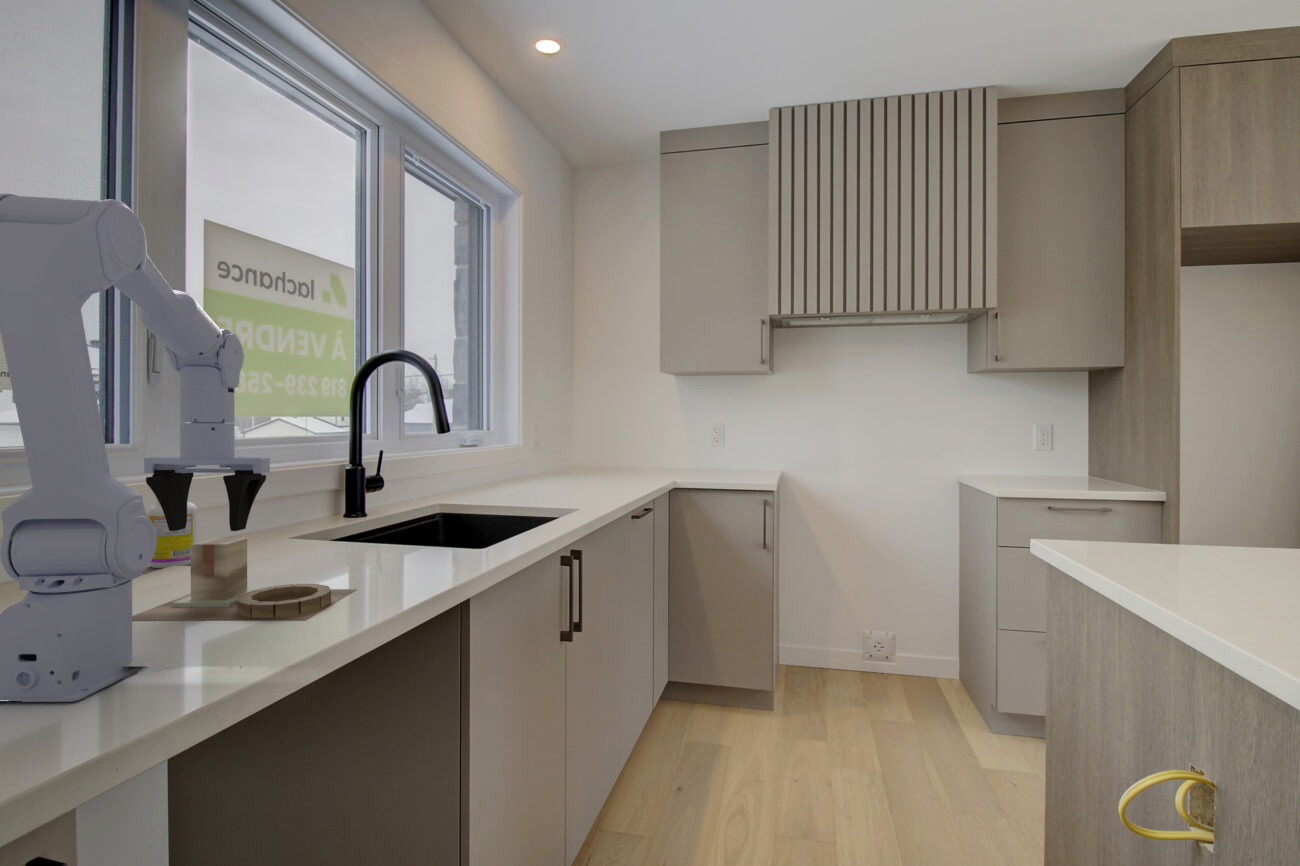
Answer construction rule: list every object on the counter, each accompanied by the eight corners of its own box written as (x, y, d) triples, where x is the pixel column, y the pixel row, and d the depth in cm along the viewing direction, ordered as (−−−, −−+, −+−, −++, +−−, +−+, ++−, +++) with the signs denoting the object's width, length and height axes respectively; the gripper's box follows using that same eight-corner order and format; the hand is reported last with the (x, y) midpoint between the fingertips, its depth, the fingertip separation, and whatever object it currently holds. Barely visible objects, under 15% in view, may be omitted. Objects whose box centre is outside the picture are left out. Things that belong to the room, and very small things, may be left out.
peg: (247, 590, 85) (247, 538, 85) (226, 600, 81) (225, 544, 80) (213, 590, 85) (213, 538, 85) (190, 600, 80) (190, 544, 80)
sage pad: (229, 606, 79) (229, 602, 79) (172, 606, 79) (172, 602, 79) (262, 592, 86) (262, 588, 86) (209, 592, 86) (209, 588, 86)
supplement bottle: (162, 561, 111) (162, 487, 111) (205, 560, 112) (204, 486, 112) (139, 570, 104) (138, 491, 104) (184, 568, 105) (184, 490, 105)
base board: (305, 630, 74) (305, 607, 74) (120, 631, 74) (120, 607, 74) (357, 597, 88) (357, 578, 88) (201, 598, 88) (201, 578, 88)
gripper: (282, 423, 86) (282, 525, 86) (172, 423, 85) (172, 524, 85) (251, 423, 79) (251, 533, 79) (130, 422, 78) (130, 533, 78)
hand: (207, 529), depth 82 cm, fingers open, 7 cm apart
